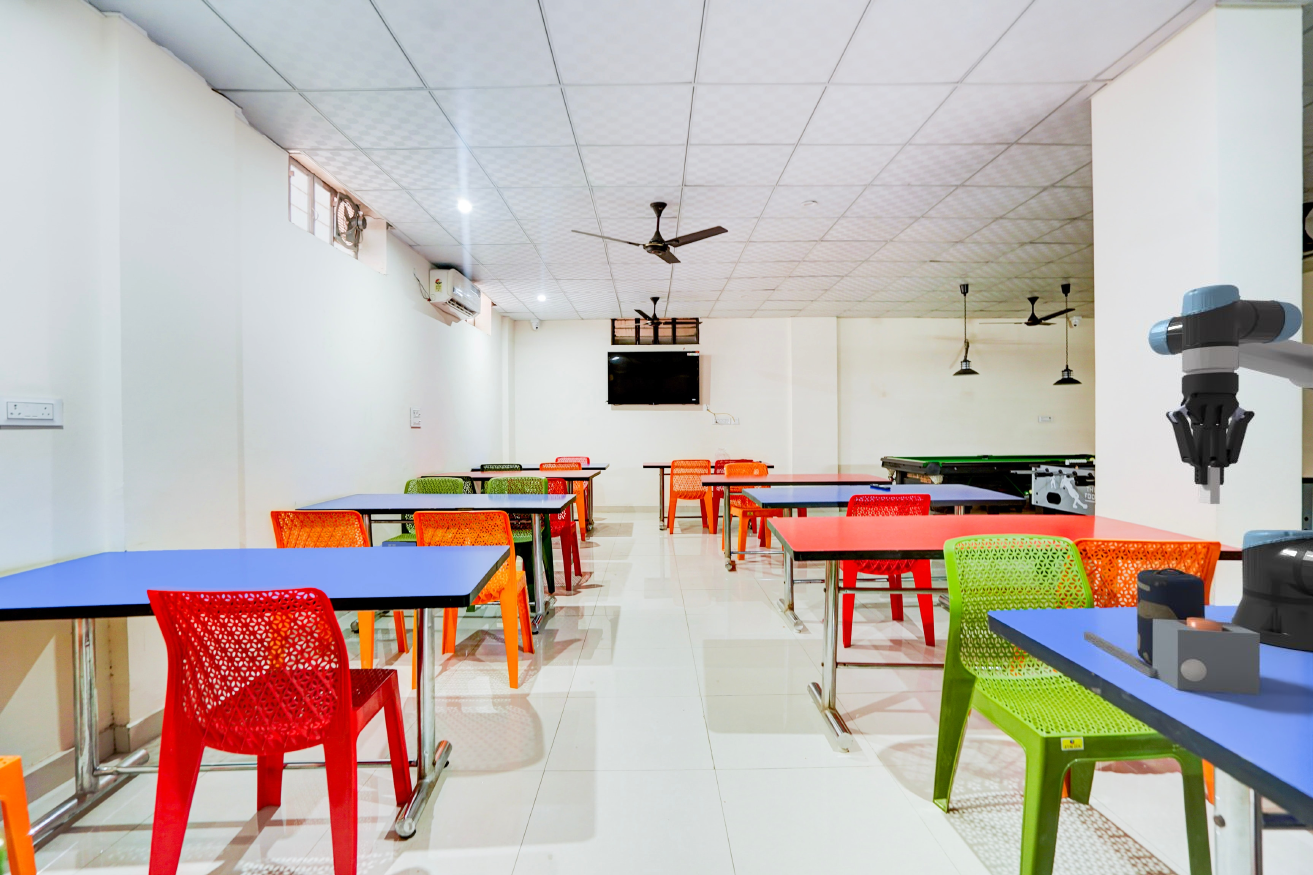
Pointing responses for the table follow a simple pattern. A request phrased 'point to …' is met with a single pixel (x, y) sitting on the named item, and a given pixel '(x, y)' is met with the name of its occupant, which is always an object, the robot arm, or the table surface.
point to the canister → (1165, 602)
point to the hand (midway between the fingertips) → (1209, 502)
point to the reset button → (1204, 624)
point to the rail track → (1121, 654)
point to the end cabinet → (1207, 657)
